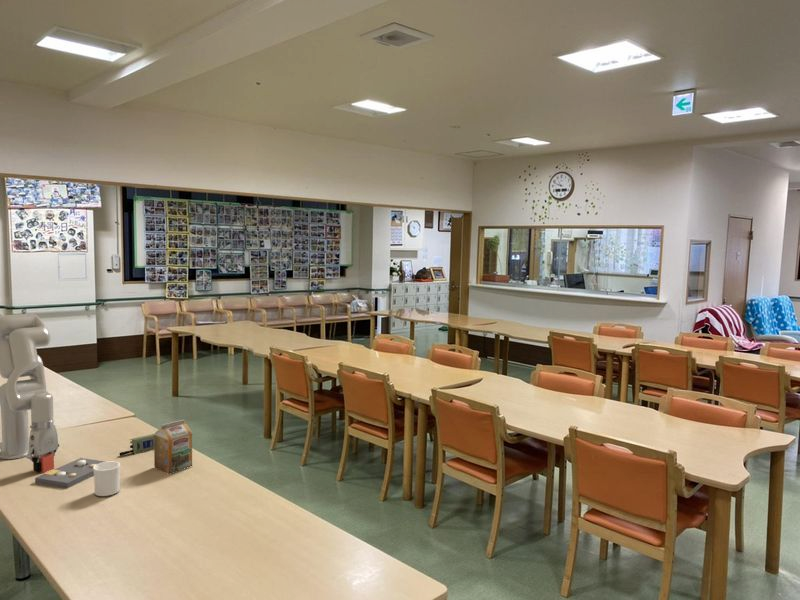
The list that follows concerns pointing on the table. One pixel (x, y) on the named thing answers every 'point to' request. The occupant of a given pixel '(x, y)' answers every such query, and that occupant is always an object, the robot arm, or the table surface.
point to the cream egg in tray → (61, 473)
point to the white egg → (81, 463)
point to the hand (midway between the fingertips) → (43, 468)
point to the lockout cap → (46, 462)
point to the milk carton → (173, 447)
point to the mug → (106, 478)
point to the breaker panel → (68, 474)
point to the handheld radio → (141, 444)
